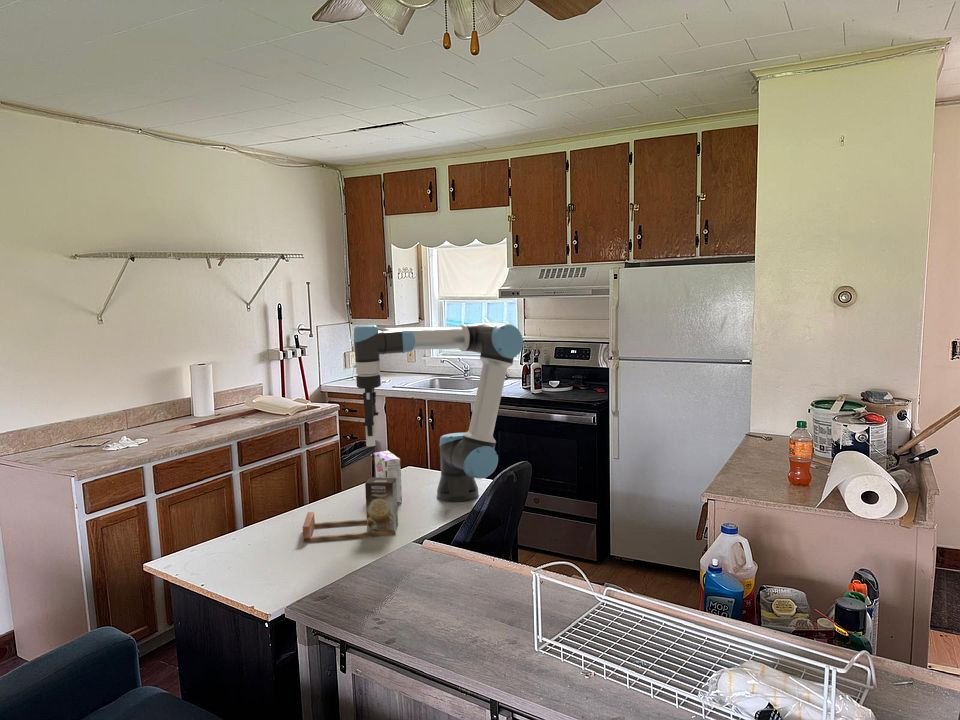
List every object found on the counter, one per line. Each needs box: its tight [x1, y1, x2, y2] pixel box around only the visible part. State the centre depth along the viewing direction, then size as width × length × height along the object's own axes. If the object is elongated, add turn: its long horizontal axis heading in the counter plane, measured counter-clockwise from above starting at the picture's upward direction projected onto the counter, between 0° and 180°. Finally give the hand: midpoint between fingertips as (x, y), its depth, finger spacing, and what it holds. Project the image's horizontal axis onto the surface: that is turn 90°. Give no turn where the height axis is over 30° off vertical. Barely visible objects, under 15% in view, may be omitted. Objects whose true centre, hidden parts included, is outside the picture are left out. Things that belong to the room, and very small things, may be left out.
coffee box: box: [364, 476, 399, 532], centre depth 215 cm, size 9×6×16 cm
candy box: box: [373, 450, 403, 505], centre depth 245 cm, size 14×6×16 cm, turn 25°
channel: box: [302, 511, 397, 543], centre depth 214 cm, size 28×13×5 cm, turn 98°
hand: (372, 440), depth 214 cm, fingers open, 13 cm apart
